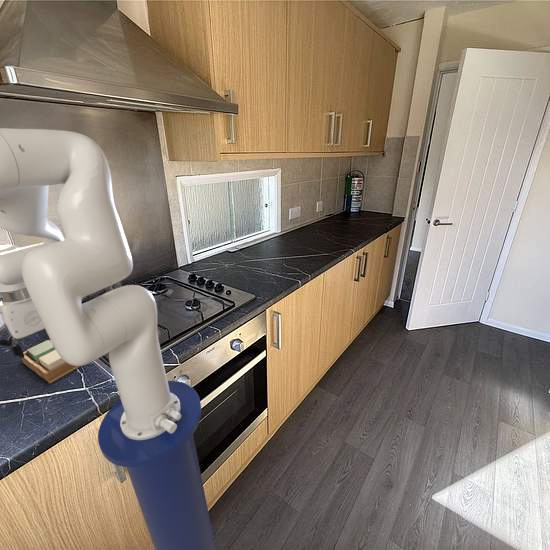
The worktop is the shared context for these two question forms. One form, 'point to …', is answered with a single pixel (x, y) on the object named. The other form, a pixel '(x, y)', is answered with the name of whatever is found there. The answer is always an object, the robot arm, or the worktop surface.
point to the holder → (45, 374)
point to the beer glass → (113, 287)
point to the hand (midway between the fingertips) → (41, 346)
